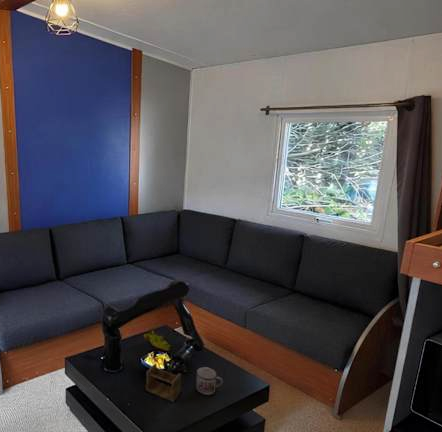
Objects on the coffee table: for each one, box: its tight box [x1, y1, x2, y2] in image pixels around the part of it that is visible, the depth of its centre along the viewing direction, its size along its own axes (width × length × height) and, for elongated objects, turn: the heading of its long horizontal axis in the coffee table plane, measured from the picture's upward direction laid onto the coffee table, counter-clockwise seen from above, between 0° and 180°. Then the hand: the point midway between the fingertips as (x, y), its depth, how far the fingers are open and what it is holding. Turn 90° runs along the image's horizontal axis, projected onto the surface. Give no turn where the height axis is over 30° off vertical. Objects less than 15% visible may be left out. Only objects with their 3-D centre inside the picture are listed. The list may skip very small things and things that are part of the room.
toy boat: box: [143, 330, 171, 352], centre depth 228 cm, size 6×18×10 cm, turn 34°
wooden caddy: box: [145, 363, 182, 403], centre depth 189 cm, size 14×8×10 cm, turn 53°
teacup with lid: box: [195, 366, 223, 396], centre depth 190 cm, size 12×9×12 cm
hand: (167, 374), depth 192 cm, fingers closed
